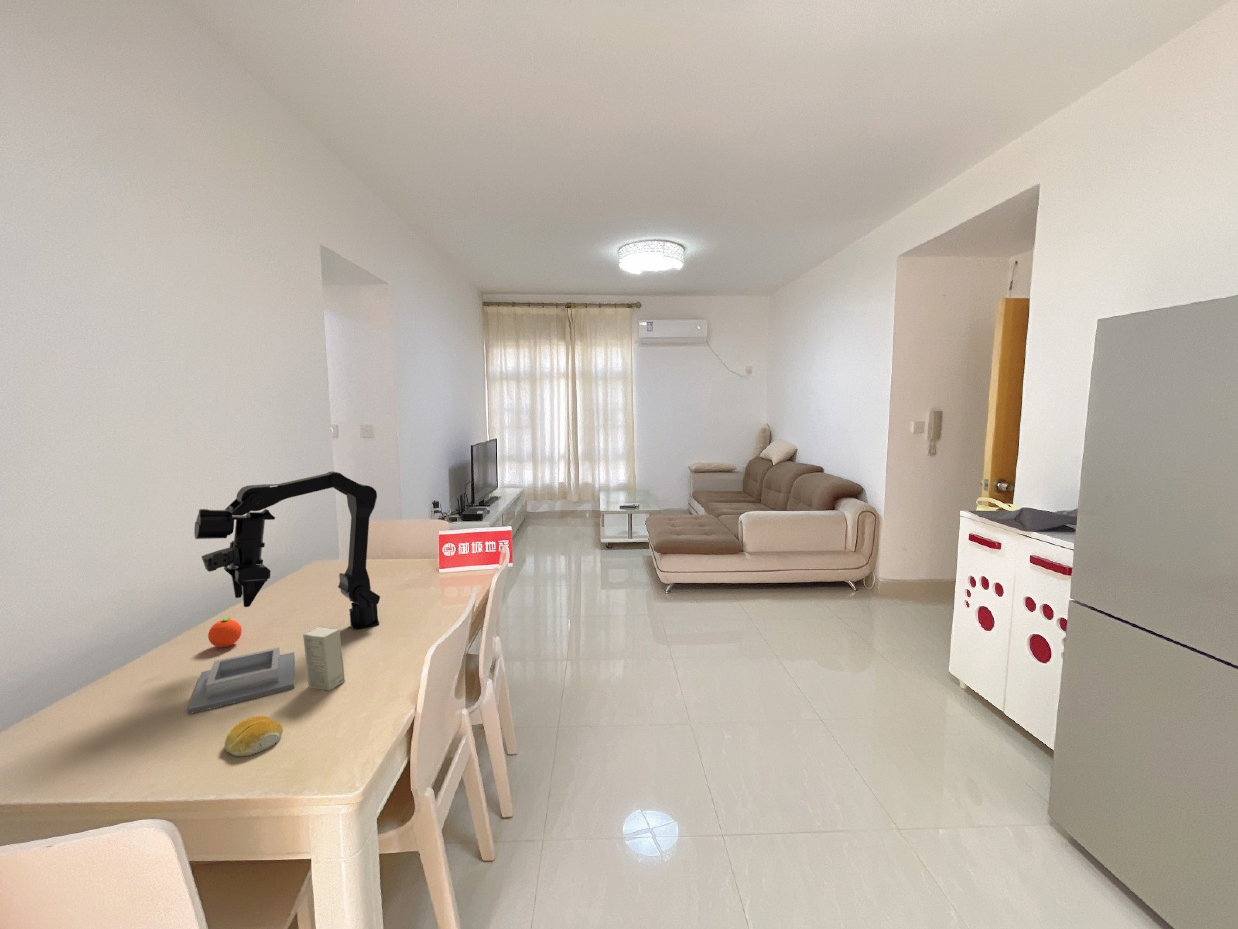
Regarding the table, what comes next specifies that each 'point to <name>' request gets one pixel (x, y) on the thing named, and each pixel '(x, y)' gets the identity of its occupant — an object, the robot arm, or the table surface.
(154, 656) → the table surface
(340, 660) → the skincare box
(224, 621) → the clementine
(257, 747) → the bread roll
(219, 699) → the port base
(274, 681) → the port collar
